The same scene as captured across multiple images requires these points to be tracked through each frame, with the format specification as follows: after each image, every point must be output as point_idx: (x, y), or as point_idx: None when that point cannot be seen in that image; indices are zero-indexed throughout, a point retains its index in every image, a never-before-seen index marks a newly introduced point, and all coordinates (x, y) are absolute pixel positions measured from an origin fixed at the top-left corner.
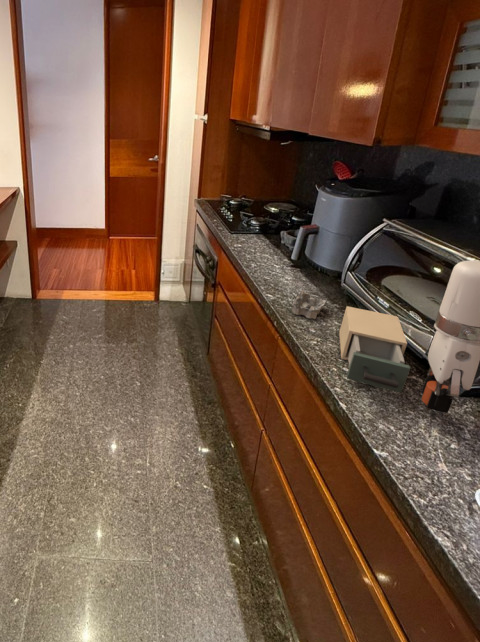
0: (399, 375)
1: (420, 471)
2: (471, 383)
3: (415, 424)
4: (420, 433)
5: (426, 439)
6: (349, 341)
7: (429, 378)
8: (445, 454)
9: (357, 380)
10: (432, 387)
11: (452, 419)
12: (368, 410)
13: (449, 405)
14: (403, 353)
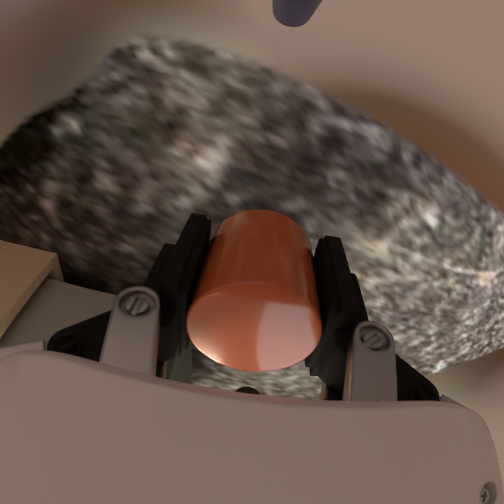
0: (174, 380)
1: (485, 321)
2: (501, 480)
3: None
4: (385, 289)
5: (408, 282)
6: None
7: (178, 350)
8: (458, 255)
9: (191, 382)
10: (269, 362)
11: (277, 144)
12: (307, 372)
13: (346, 270)
14: (7, 313)
